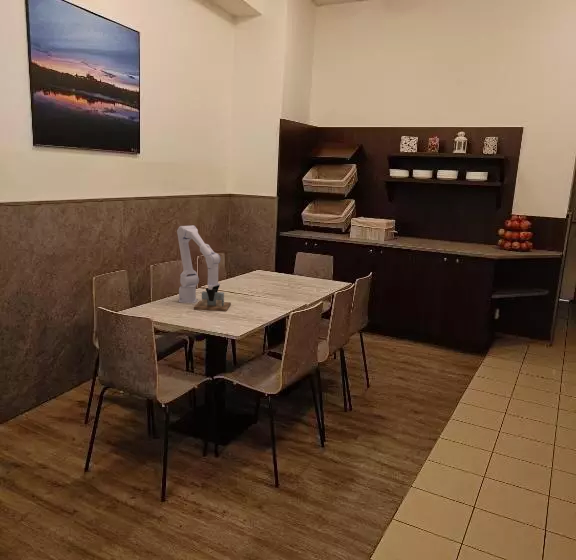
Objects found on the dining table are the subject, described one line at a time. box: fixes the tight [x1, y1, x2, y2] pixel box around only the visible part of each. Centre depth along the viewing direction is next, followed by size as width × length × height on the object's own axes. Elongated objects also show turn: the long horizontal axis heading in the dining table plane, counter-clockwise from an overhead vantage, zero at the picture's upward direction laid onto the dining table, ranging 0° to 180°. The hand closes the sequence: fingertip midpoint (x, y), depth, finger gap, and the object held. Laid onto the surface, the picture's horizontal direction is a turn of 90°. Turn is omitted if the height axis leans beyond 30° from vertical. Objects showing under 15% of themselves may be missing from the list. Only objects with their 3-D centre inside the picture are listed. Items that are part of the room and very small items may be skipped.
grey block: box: [201, 290, 225, 306], centre depth 282 cm, size 12×4×7 cm, turn 86°
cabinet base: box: [193, 298, 232, 312], centre depth 283 cm, size 18×14×5 cm
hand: (212, 299), depth 282 cm, fingers open, 7 cm apart
